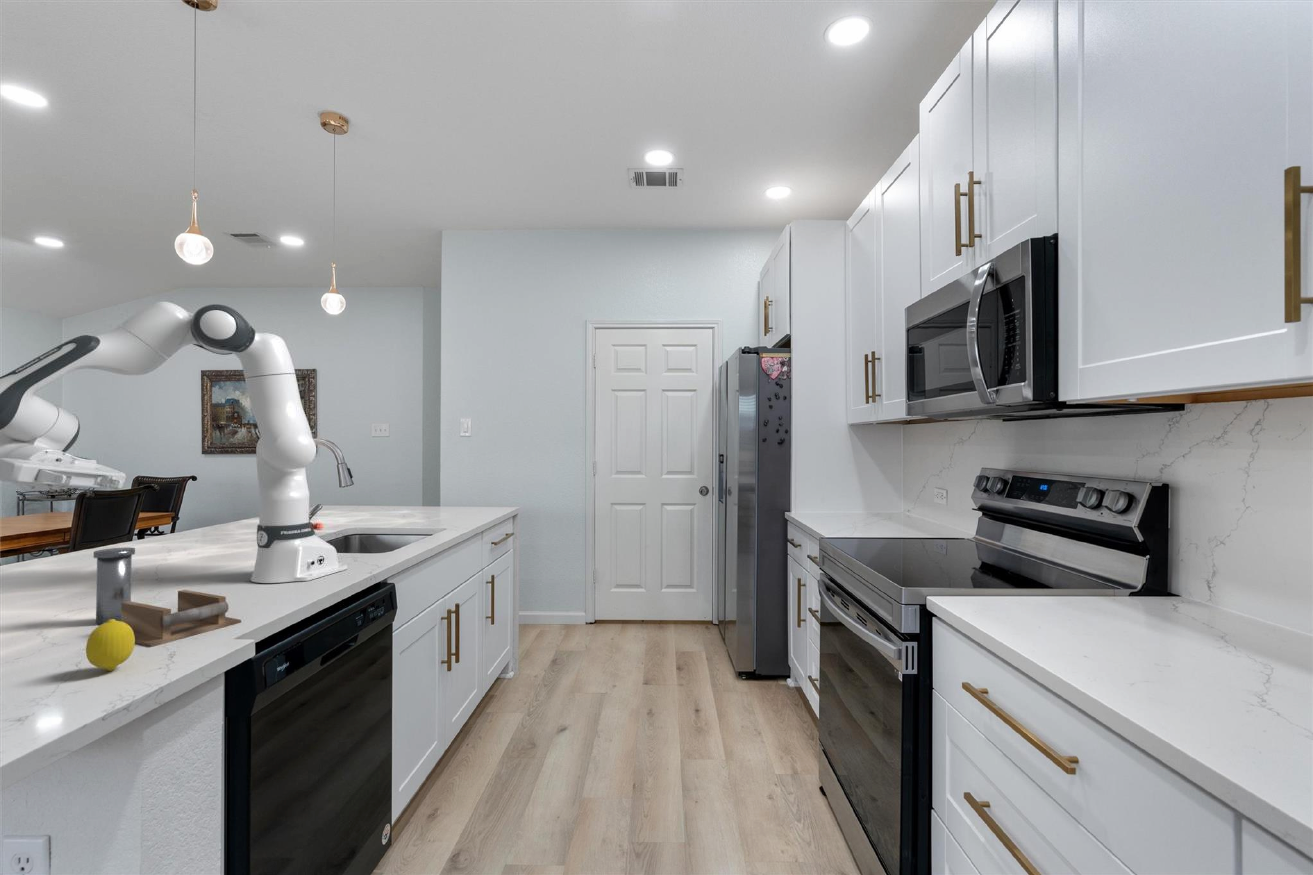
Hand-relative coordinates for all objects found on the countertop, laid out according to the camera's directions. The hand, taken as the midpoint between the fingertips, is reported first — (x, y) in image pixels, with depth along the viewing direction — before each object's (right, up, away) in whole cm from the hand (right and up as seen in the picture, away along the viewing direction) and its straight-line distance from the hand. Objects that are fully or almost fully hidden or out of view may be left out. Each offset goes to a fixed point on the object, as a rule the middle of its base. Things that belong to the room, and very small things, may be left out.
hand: (93, 482), depth 118 cm
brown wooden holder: (+24, -27, -8) cm, 37 cm away
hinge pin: (+8, -27, -4) cm, 28 cm away
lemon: (+30, -27, -28) cm, 50 cm away
